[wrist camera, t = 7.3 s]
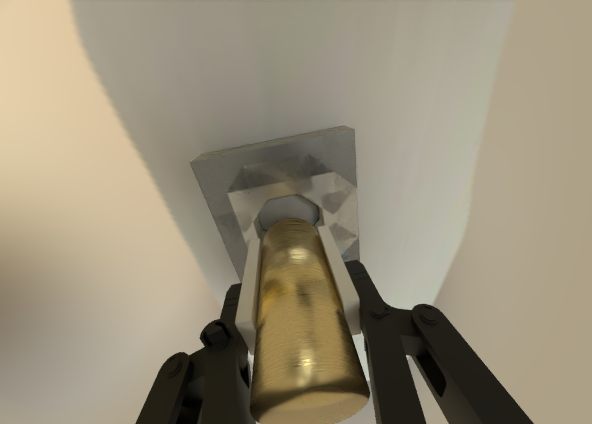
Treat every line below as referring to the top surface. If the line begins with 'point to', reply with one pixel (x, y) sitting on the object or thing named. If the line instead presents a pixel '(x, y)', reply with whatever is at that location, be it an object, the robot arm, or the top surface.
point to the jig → (282, 187)
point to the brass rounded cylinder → (302, 336)
